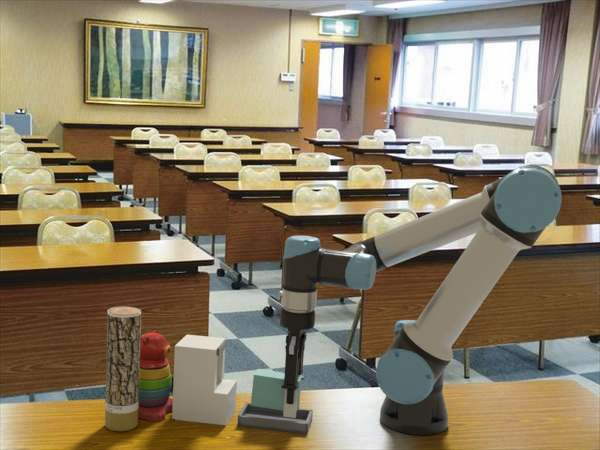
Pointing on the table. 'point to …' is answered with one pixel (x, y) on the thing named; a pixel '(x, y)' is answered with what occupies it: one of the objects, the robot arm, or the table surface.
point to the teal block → (270, 389)
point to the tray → (274, 419)
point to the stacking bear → (154, 378)
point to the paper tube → (122, 368)
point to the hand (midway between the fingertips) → (291, 412)
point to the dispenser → (202, 381)
